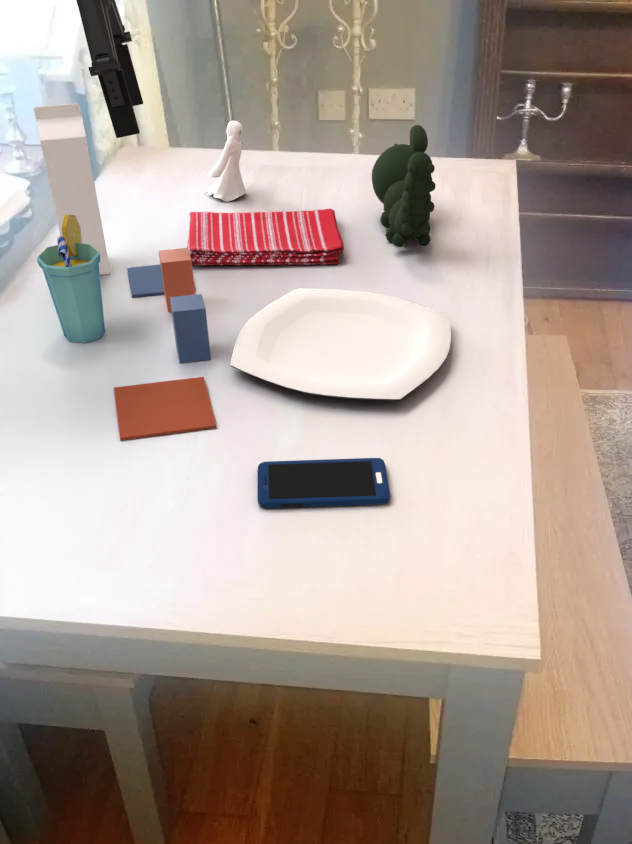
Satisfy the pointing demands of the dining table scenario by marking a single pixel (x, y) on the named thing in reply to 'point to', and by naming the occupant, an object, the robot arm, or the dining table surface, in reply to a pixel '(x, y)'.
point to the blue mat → (145, 280)
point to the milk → (71, 173)
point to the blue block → (190, 328)
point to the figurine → (228, 167)
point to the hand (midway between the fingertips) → (130, 120)
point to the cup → (74, 283)
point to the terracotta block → (176, 273)
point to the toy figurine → (405, 189)
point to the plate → (343, 344)
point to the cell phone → (322, 483)
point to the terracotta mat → (163, 408)
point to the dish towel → (264, 238)
